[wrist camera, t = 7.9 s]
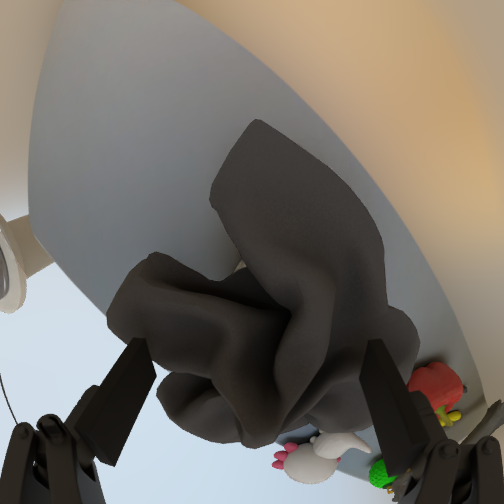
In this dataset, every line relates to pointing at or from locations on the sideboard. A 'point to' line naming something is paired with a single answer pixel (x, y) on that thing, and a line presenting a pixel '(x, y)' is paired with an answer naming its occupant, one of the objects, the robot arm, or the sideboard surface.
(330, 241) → the cloth
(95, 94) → the sideboard surface
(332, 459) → the toy
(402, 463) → the robot arm
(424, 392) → the vegetable
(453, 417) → the fruit
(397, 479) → the bone
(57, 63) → the sideboard surface
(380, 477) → the ornament
